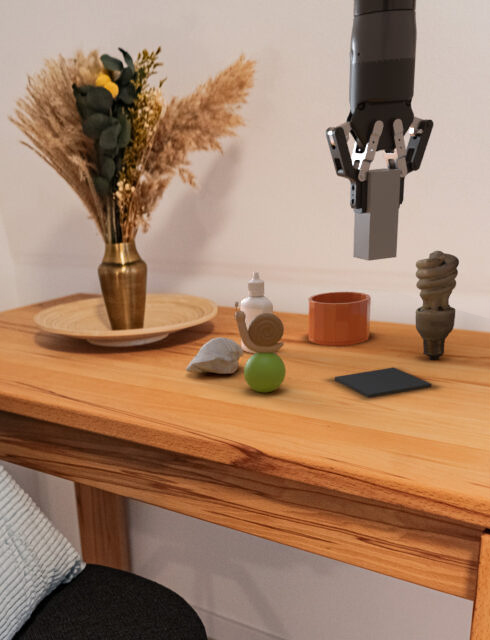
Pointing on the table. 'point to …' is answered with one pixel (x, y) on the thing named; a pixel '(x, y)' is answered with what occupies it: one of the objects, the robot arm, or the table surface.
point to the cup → (339, 318)
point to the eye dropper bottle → (255, 303)
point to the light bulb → (436, 301)
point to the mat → (382, 382)
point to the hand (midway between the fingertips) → (376, 210)
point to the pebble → (217, 357)
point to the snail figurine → (262, 350)
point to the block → (378, 217)
